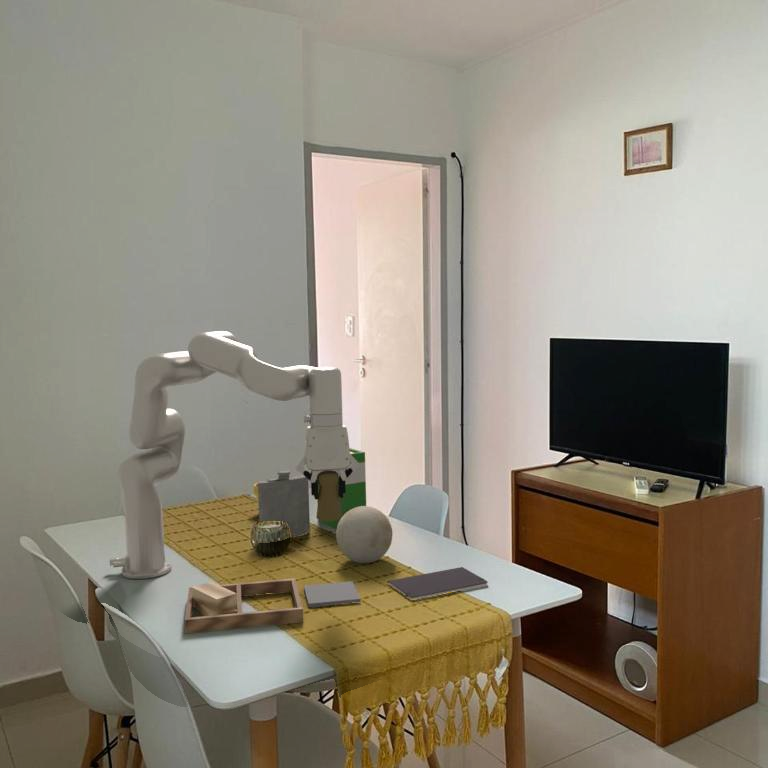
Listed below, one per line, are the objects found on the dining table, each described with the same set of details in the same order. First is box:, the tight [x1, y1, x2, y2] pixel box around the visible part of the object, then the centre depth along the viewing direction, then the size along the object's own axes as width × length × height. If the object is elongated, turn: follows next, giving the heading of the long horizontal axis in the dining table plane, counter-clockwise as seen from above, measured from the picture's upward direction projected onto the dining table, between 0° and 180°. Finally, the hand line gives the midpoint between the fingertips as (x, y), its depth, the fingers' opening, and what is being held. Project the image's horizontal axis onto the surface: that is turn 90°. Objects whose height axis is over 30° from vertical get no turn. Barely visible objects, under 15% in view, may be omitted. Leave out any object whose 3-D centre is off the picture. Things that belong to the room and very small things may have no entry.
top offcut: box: [191, 581, 237, 613], centre depth 182 cm, size 5×11×3 cm, turn 42°
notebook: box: [387, 566, 489, 599], centre depth 197 cm, size 13×2×21 cm
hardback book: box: [316, 447, 367, 531], centre depth 251 cm, size 18×7×24 cm, turn 33°
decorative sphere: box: [335, 505, 394, 564], centre depth 216 cm, size 15×15×15 cm
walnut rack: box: [184, 578, 304, 634], centre depth 184 cm, size 25×20×3 cm
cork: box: [316, 470, 342, 521], centre depth 189 cm, size 6×6×11 cm
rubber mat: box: [303, 581, 362, 608], centre depth 192 cm, size 12×12×1 cm
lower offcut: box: [193, 601, 237, 617], centre depth 183 cm, size 6×14×3 cm, turn 28°
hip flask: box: [257, 469, 311, 538], centre depth 240 cm, size 16×4×20 cm, turn 121°
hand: (328, 496), depth 189 cm, fingers closed on cork, 5 cm apart
